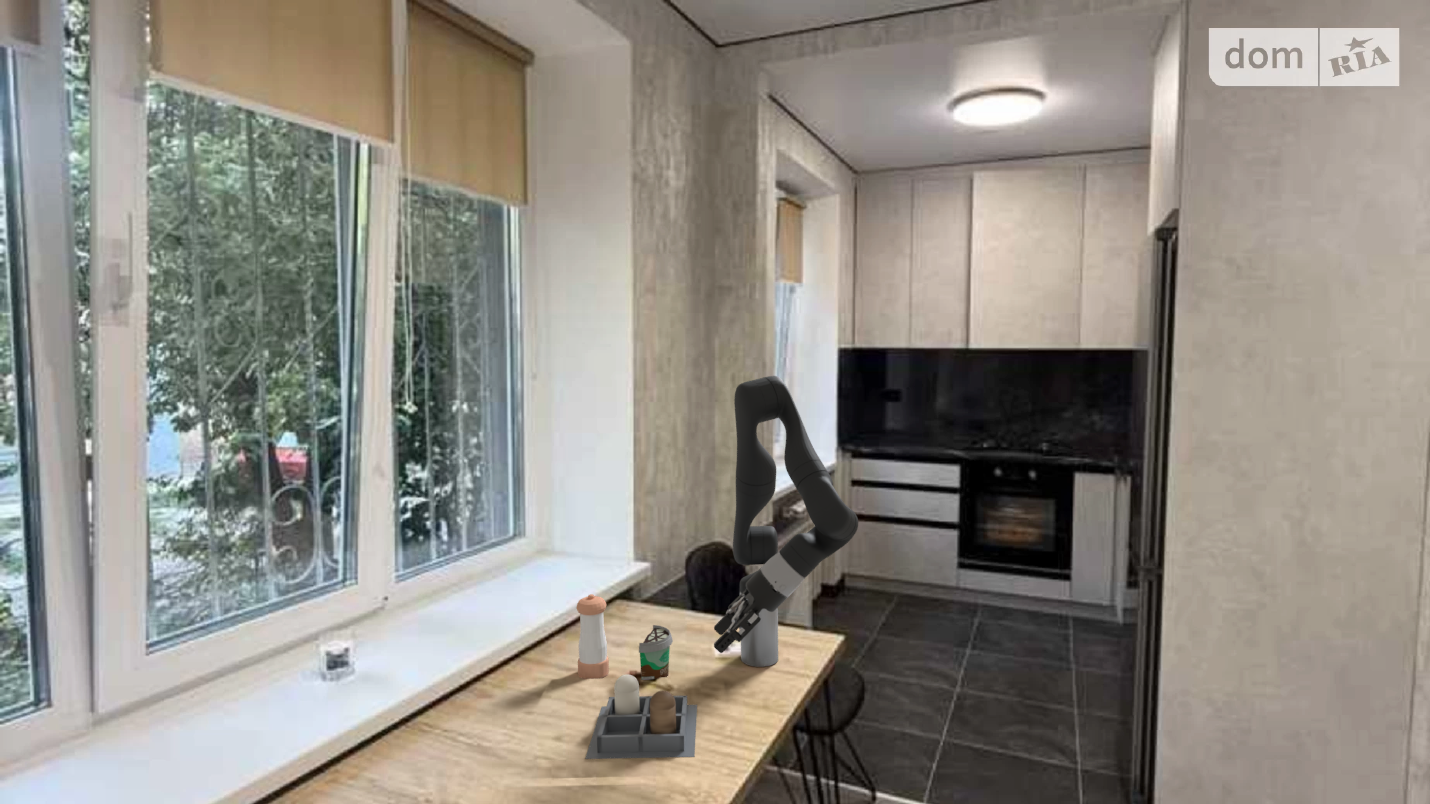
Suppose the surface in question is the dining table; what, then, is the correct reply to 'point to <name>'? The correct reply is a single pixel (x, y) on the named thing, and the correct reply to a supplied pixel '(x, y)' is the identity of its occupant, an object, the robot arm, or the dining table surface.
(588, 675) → the pepper shaker
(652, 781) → the dining table surface
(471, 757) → the dining table surface
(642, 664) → the food container
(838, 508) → the robot arm
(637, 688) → the white dome-top cylinder
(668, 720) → the brown domed cylinder
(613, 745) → the grey compartment tray
